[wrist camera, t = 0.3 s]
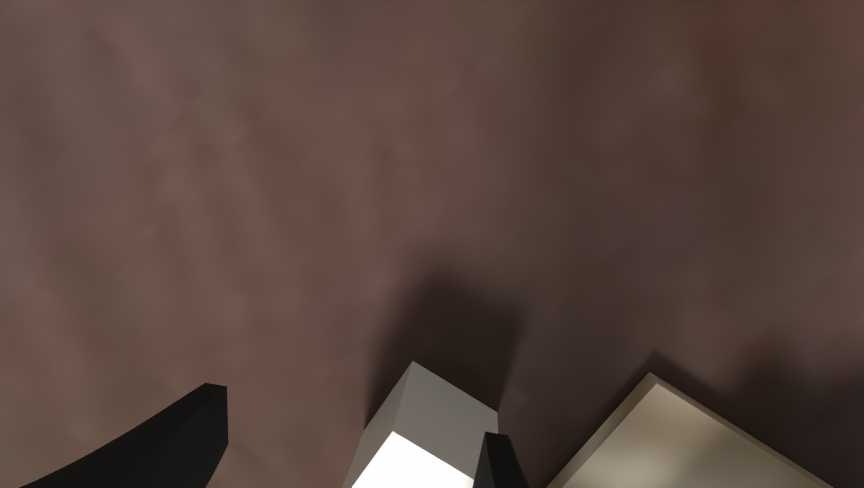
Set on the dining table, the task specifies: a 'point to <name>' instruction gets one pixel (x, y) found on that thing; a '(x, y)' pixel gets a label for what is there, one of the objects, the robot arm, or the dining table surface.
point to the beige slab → (676, 449)
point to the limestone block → (422, 436)
